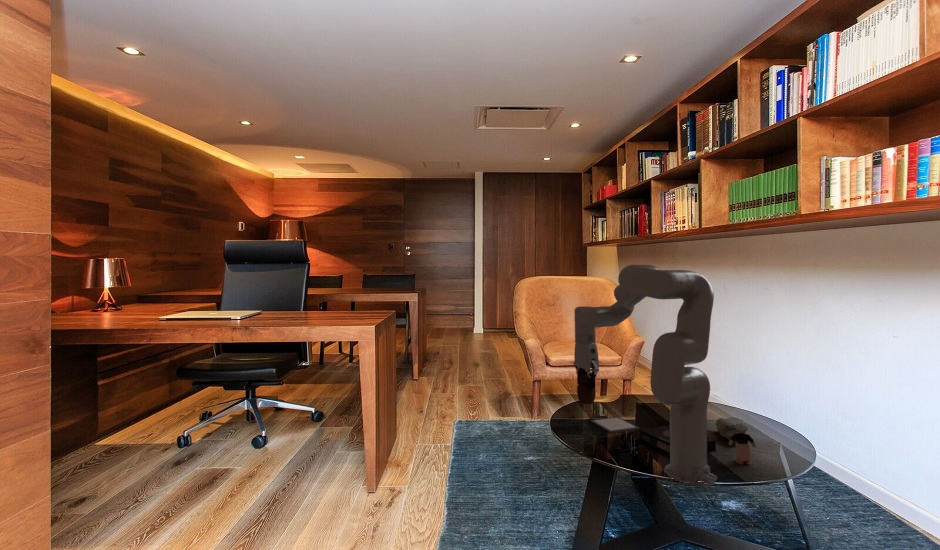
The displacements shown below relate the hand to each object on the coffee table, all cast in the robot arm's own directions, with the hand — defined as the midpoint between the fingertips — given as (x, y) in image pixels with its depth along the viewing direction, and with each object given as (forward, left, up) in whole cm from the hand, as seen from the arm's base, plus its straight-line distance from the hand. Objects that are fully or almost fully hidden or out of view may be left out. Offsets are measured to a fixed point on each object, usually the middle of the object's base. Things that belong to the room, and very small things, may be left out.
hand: (586, 385), depth 158 cm
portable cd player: (-22, -21, -17) cm, 35 cm away
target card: (+1, -13, -17) cm, 21 cm away
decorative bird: (-24, -43, -17) cm, 52 cm away
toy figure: (-39, -30, -17) cm, 52 cm away
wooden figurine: (0, 0, -7) cm, 7 cm away
